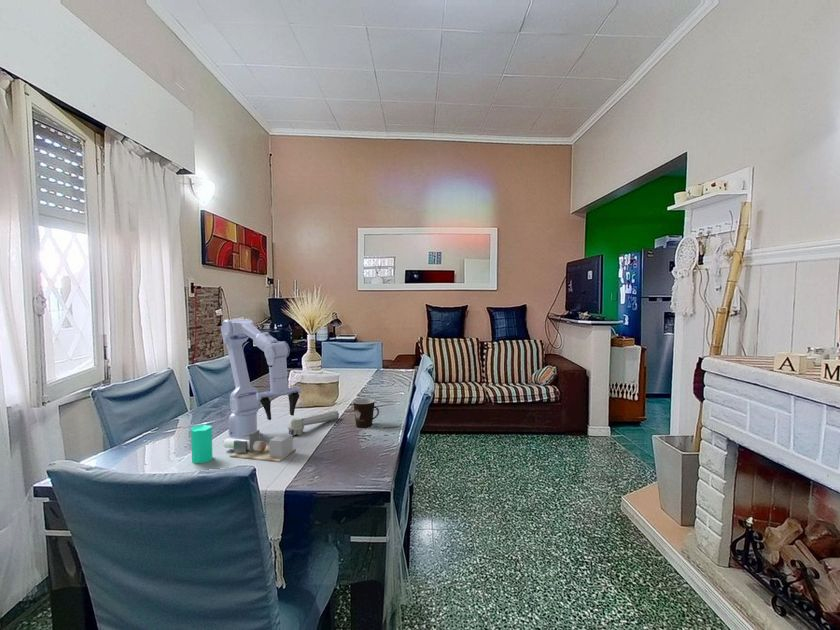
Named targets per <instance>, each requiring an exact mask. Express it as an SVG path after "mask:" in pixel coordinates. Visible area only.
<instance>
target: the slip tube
mask: <svg viewBox="0 0 840 630" xmlns="http://www.w3.org/2000/svg"><path fill="white" fill-rule="evenodd" d="M260 432H261V431H260V429H257V430H256V431H254V432H252V433H250V434H249V440H244V439H234V438H227V437H226V438H225V439H224V441H223V447H224V448H226V449H233V450H234V441H235V440H238V441H247V443H248V450H250V452H254V451H261V452H263V451H264V450H265V448H266V446H267V442H266V441H264V440H260V439H261V437H260V436H261V434H260Z"/></svg>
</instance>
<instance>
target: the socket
mask: <svg viewBox="0 0 840 630" xmlns="http://www.w3.org/2000/svg"><path fill="white" fill-rule="evenodd" d="M269 446H270V457H275V458H283V457H284V456H286V455H287V454H289V453H290V452H292V451H293V449H294V448H293V447H294V446H293V435H290V434H288V433H286V434H285V433H279V434H278V435H276V436H274V437H272V438H271V439H269ZM292 453H293V452H292Z"/></svg>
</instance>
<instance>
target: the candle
mask: <svg viewBox="0 0 840 630" xmlns="http://www.w3.org/2000/svg"><path fill="white" fill-rule="evenodd" d="M190 436H191V438H190V439H191V444H190V445H191V463H192V464H203V463H207V462H210V461H212V460H213V457H214V456H213V426H212V425H208V424H202V422H200V424H198V425H195V426H193V427H191V428H190Z"/></svg>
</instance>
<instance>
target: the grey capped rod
mask: <svg viewBox="0 0 840 630" xmlns="http://www.w3.org/2000/svg"><path fill="white" fill-rule="evenodd" d="M339 417H340V414H339V412H338V410H327V411H325V412H321V413H318V414H312V415H309V416H304V417H295V418H292V419H291V421H290V425H289V426H287V430H288V433H287V434H290V435H292V436H295V435H297V436H301V435H302V434H304V433H303V432H304V429H305V426H310V425H316V424H320V423H326V422H333V421H336V420H338V419H339ZM300 434H301V435H300Z"/></svg>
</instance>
